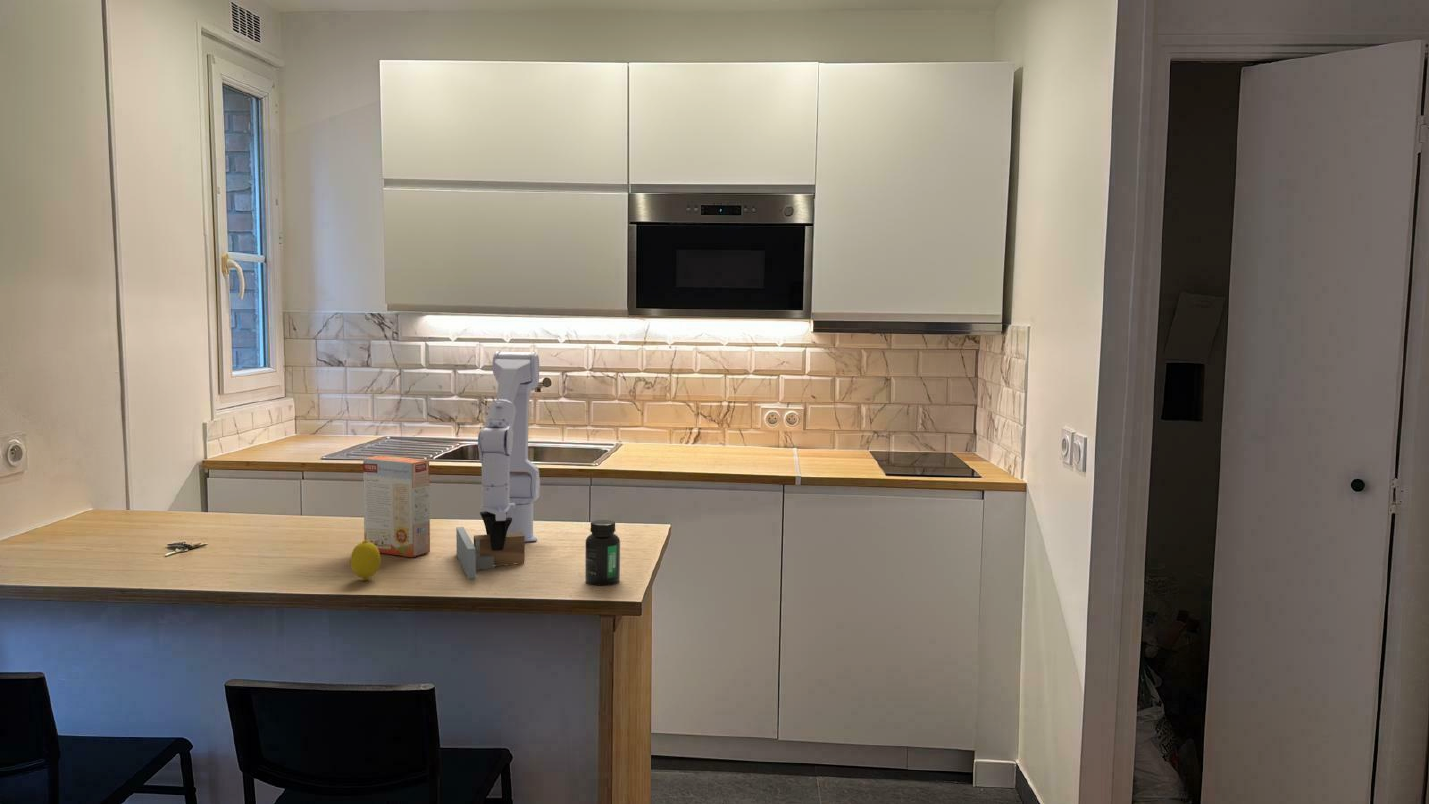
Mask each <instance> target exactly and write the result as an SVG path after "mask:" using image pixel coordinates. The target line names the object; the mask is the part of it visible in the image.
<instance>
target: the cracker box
mask: <svg viewBox="0 0 1429 804" xmlns="http://www.w3.org/2000/svg"><path fill="white" fill-rule="evenodd" d="M362 462H363V463H362V466H363V470H362V471H363V474H362V475H363V477H362V478H363V525H364V526H363V528H364V529H363V533H364V534H363V535H364V537H363V541H364V540H367V541H368V542H370V543H373V544H374V545H376V546H377V548H378V550H379V553H380V554H386V555H387V554H388V555H394V556H401V557H405V558H416V557H419V556H422V555H425V554H428V553H430V552H431V539H430V538H431V537H430V536H431V528H430V526H431V525H430V524H431V523H430V522H431V521H430V520H431V519H430V516H431V513H430V508H431V507H430V459H422V458H412V457H402V456H392V455H373V456H371V457H364V458H363V459H362Z"/></svg>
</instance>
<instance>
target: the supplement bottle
mask: <svg viewBox="0 0 1429 804" xmlns="http://www.w3.org/2000/svg"><path fill="white" fill-rule="evenodd" d="M589 532H590V533H591V534H590V535H588V536H587V537H586V539H585V559H584V560H585V561H584V562H585V564H584V565H585V569H584V570H585V571H584V574H585V581H586V583H587V584H589V585H592V586H597V585H598V586H600V587H601V586H602V587H604V586H606V587H607V586H611V585H615V584H617V583H618V582H619V581H620V578H621V577H620V576H621V575H620V574H621V540H620V537H619V536H618V535H617V534H616V533H615V532H616V522H615V521H614V520H610V519H597V520H596V519H595V520H592V521H591V522H590V528H589Z"/></svg>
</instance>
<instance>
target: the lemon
mask: <svg viewBox="0 0 1429 804" xmlns="http://www.w3.org/2000/svg"><path fill="white" fill-rule="evenodd" d="M350 567H351V570H352V572H353V573H354V574H355V575H356V576H357V577H359V578H362V579H363V580H364V581H368V580H369V579H370V578H371V577H372V576H373V577H374V575H375V574H377V572H378V571H379V570H380V567H381V553H379V550H378V548H377V546H376V545H374V544H373V543H370V542H368V541H367V540H364V539H363V541H362V542H360V543H358V544H357V545H356V546H354V548H353V549H352V552H351V556H350Z"/></svg>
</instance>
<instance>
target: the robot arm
mask: <svg viewBox="0 0 1429 804" xmlns="http://www.w3.org/2000/svg"><path fill="white" fill-rule="evenodd" d="M491 367H492V374H493V376H494V377H495V380H496V381H497V384H498V386H497V394H496V400H494V401H492V402H491V403H490V405H489V409H488V411H487V416H486V420H485V424H484V428H482V429H480V430H479V432H478V435H477V451H478V455H479V463H480V464H481V504H480V509H481V510H482V511H480V512H479V515H480V516H481V518H482V522H483V525H484V528H485V531H486V532H485V533H486V535H488V534H490V541H491V547H492V550H493V551H499V550H503V548H504V543H505V538H506V534H507V533H517V532H522V533H523V535H524V536H525V542H527V543H528V542H537V541H538V537H537V536H536V535H535V534H534V501H536V500H538V498H539V497H540V491H541V479H540V470H539V467H538V466H537V465H535V464H534V463H533V462H532V461H531V460H529V458H528V457H529V456H528V455H529V453H528V452H529V423H530V422H529V421H530V420H529V419H530V397H531V392H532V390H533V389H536V388H538V387H539V383H540V359H539V355H538V354H537V352H535V351H532V352H529V351H528V352H527V351H526V352H523V351H521V352H518V351H514V352H513V351H499V350H497V351H495V353H494V354H493V357H492V366H491ZM510 472H514V473H510ZM515 472H516V473H515ZM517 472H522V473H517Z"/></svg>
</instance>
